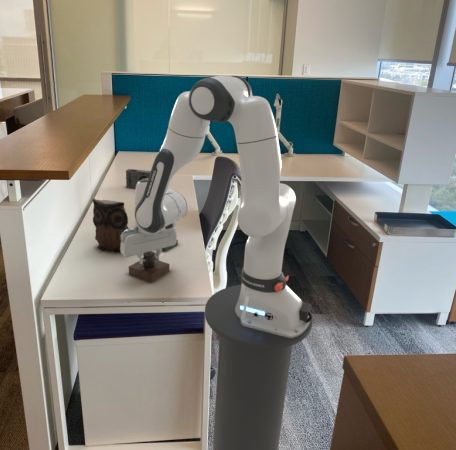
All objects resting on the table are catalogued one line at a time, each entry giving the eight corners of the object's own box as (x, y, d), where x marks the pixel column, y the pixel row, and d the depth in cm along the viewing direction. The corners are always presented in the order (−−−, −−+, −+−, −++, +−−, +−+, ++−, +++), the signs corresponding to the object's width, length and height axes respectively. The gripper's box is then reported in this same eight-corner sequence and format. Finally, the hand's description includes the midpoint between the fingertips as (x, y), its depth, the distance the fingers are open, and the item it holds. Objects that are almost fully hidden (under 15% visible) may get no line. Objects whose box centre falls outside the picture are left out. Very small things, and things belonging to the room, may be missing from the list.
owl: (132, 252, 170) (131, 202, 163) (99, 257, 165) (96, 206, 158) (123, 239, 181) (122, 192, 173) (92, 243, 176) (89, 195, 168)
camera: (124, 187, 244) (124, 170, 240) (127, 185, 248) (126, 168, 244) (153, 190, 241) (152, 172, 237) (155, 188, 245) (155, 171, 241)
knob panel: (169, 271, 157) (169, 263, 156) (151, 282, 149) (151, 274, 148) (147, 263, 162) (147, 255, 161) (128, 274, 154) (128, 266, 153)
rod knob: (157, 265, 154) (157, 253, 152) (147, 268, 152) (146, 256, 150) (151, 261, 157) (151, 249, 155) (141, 264, 155) (141, 251, 153)
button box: (177, 244, 178) (177, 235, 177) (165, 251, 172) (165, 242, 170) (158, 238, 183) (158, 229, 181) (145, 244, 177) (145, 235, 175)
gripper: (124, 234, 141) (126, 272, 146) (179, 221, 152) (178, 258, 157) (116, 227, 145) (117, 265, 151) (169, 216, 157) (169, 251, 162)
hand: (149, 261), depth 154 cm, fingers closed on rod knob, 4 cm apart
